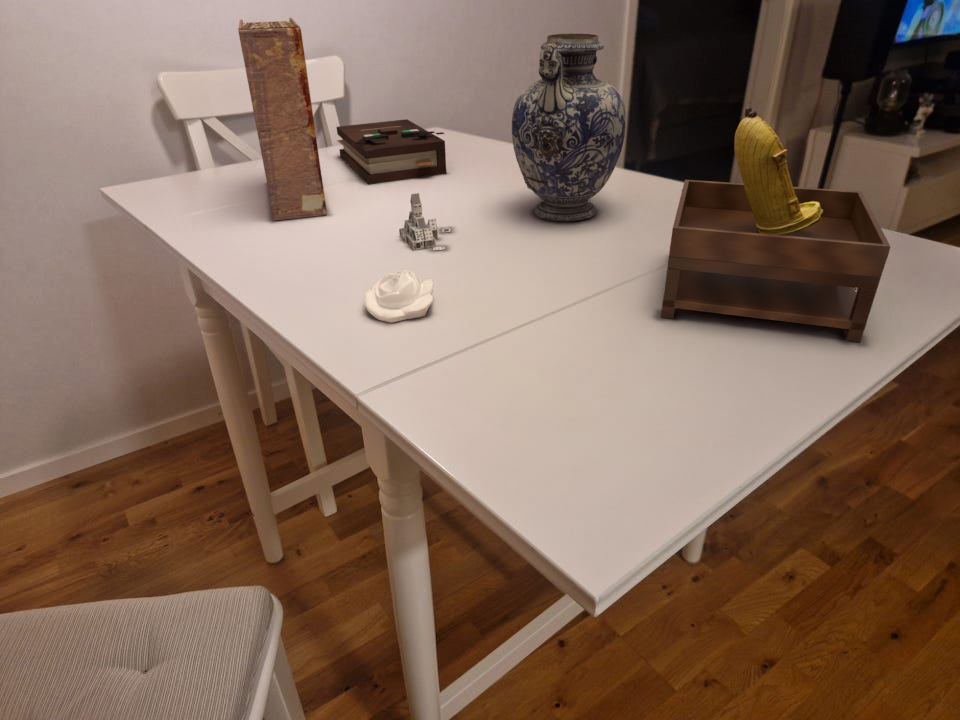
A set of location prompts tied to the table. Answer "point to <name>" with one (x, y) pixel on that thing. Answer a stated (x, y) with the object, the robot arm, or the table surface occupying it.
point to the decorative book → (392, 151)
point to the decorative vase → (568, 129)
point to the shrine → (770, 180)
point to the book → (283, 117)
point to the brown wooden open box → (775, 259)
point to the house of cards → (420, 228)
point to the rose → (399, 297)
